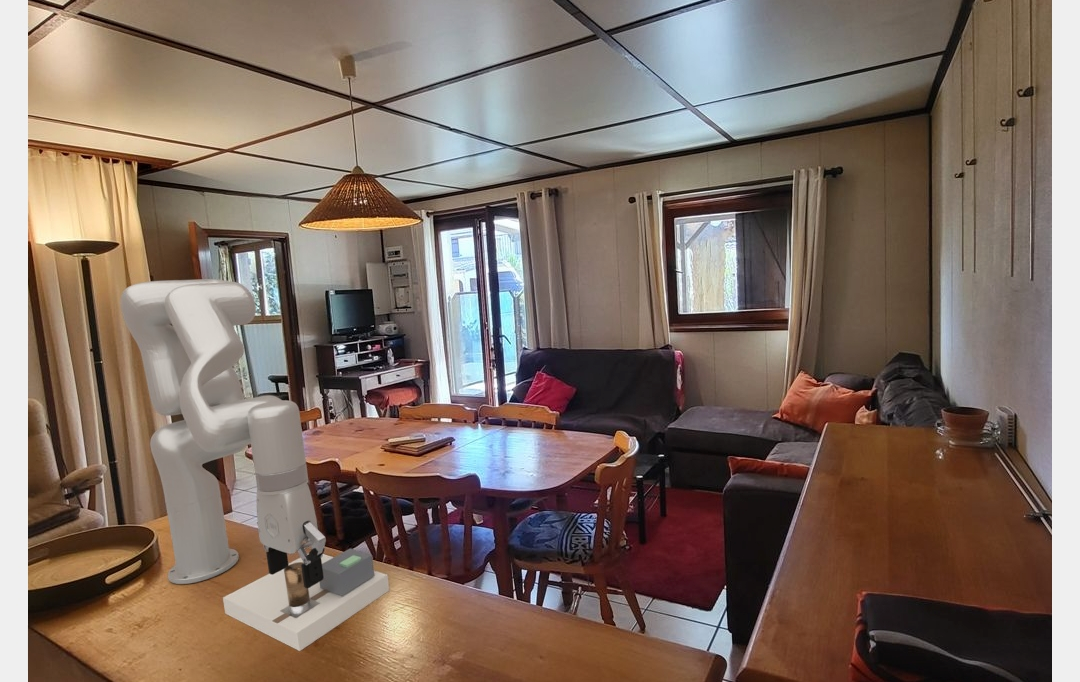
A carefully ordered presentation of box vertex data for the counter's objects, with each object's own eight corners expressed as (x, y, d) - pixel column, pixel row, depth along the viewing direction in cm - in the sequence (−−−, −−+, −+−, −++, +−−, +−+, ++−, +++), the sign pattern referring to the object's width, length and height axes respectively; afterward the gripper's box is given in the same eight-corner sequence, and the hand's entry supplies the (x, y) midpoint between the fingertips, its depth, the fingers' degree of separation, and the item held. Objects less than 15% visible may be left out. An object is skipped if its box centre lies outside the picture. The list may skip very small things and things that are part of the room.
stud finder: (320, 587, 95) (317, 564, 94) (353, 568, 101) (350, 546, 100) (342, 596, 91) (338, 571, 91) (374, 575, 97) (371, 552, 97)
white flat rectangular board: (225, 613, 95) (222, 597, 95) (315, 564, 110) (313, 550, 110) (299, 651, 83) (297, 632, 83) (389, 590, 98) (387, 574, 98)
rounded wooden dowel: (288, 626, 90) (279, 569, 88) (305, 615, 92) (297, 560, 91) (299, 632, 88) (291, 574, 87) (316, 620, 90) (309, 564, 89)
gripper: (230, 478, 89) (245, 576, 91) (292, 493, 79) (307, 602, 81) (273, 464, 95) (286, 555, 97) (335, 476, 86) (348, 577, 88)
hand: (296, 576), depth 89 cm, fingers open, 9 cm apart
